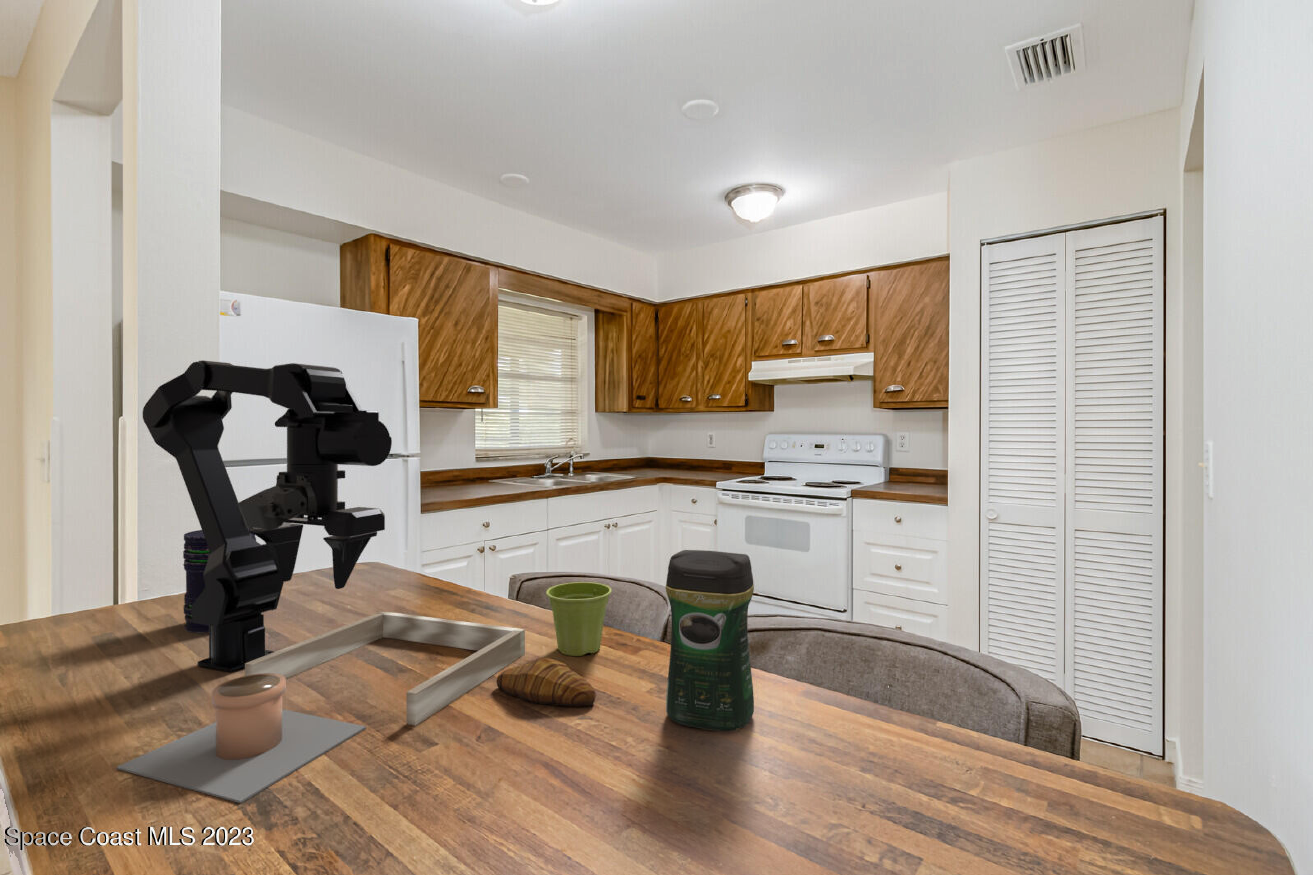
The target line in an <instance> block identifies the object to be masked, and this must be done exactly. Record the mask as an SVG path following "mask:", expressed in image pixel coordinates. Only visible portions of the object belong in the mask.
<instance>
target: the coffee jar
mask: <svg viewBox="0 0 1313 875" xmlns="http://www.w3.org/2000/svg"><path fill="white" fill-rule="evenodd" d="M668 562H669V563H668V567H667V568H668V569H667V575H666V581H665V592H666V596H667V599H668V602H669V606H670V616H671V618H670V619H671V635H670V637H671V638H670V651H669V664H668V673H667V674H668V675H667V683H666V698H665V700H666V701H665V711H666V714H667V717H668V718H669V719H671V721H673V722H674V723H677V724H680V725H684V726H687V727H692V728H698V729H703V730H711V731H717V732H727V733H729V732H734V731H737V730H739V729H742V728H744V727H745V726H747V725H748V724H749V723H750V721H751V720H752V717H753V714H754V711H755V698H754V685H753V684H754V683H753V676H752V675H753V674H752V665H751V658H750V647H749V645H750V644H749V635H748V634H749V632H748V631H749V630H748V616H749V615H748V614H749V611H748V610H749V606H750V603H751V600H752V598H753V596H754V591H755V584H754V577H753V572H752V568H753V567H752V564H751V563H752V562H751V559H750V557H749V555H748V554H745V553H737V552H726V551H725V552H724V551H715V550H702V549H700V550H699V549H683V550H680V551H678V552H676V553H674V554H673V555H671V557H670V558H669V561H668Z"/></svg>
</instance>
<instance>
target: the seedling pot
mask: <svg viewBox="0 0 1313 875" xmlns="http://www.w3.org/2000/svg"><path fill="white" fill-rule="evenodd" d="M286 681H287V679H286V678H285V677H284V676H282V675H279V674H273V673H263V674H254V675H248V676H245V675H244V676H240V677H236V678H233V679H230V680H227V681H224V682H222V683H220V684H218V685H217V686H215V687H214V688H213V689H212V692H211V705H212V706H213V707H214V708H215V722H216V756H217V757H219V758H222V759H227V760H236V759H244V758H249V757H253V756H256V755H259V754H262V753H265V752H267V751H269V750H271V749H273V748H274V747H276V746H277V745H278V744H279V743H280V742H281V741H282V709H283V694H284V693H285V692H286V690H287V686H286V685H287V682H286Z"/></svg>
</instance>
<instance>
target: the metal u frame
mask: <svg viewBox="0 0 1313 875" xmlns="http://www.w3.org/2000/svg"><path fill="white" fill-rule="evenodd" d="M382 638H387V639H392V640H393V639H394V640H402V641H408V642H415V643H423V644H429V645H436V646H443V647H444V646H445V647H450V648H456V649H457V648H458V649H463V650H464V649H465V650H472V651H476V652H474V653H472V654H470V655H469V656H467V657H466V658H464V659H461V660H460V661H458V662H457V663H455V664H453V665H452V666H449V667H448V668H446V669H444V670H443V671H441V672H438V673H437V674H436V675H434V676H432V677H430V678H429V679H427V680H425V681H424V682H422V683H420V684H418V685H416V686H415V687H413V688H411V689H409V690H408V691H406V725H409V726H414V727H415V726H418V725H419V724H420V723H422V722H424V721H425V720H427V719H428V718H430V717H431V716H433V715H434V714H436V713H438V712H439V711H441V709H443V708H445V707H447V706H449V705H450V704H451V703H453V702H454V701H455V700H457V699H458V698H460V697H462V696H463V695H465V694H466V693H468V692H469V691H471V690H472V689H474V688H475V687H477V686H478V685H480V684H482V683H483V682H484V681H486V680H488V679H489V678H491V677H492V676H493V675H495V674H497V673H498V672H499V671H501V670H502V669H504V668H506V667H507V666H509V665H510V664H512V663H514V662H515V661H516V660H517V659H519V658H521V657H522V656H525V654H526V629H524V628H519V627H518V628H516V627H508V626H502V625H494V624H485V623H478V622H468V621H463V620H462V621H461V620H454V619H453V620H452V619H446V618H445V619H444V618H440V617H432V616H431V617H429V616H425V615H424V616H423V615H414V614H406V613H400V612H391V611H379V612H377V613H374V614H372V615H369V616H367V617H363V618H361V619H358V620H356V621H353V622H351V623H348V624H345V625H343V626H341V627H337V628H335V629H332V630H330V631H327V632H324V633H322V634H319V635H317V636H313V637H311V638H309V639H305V640H304V641H303V640H302V641H301V642H298V643H295V644H293V645H290V646H287V647H285V648H281V649H279V650H277V651H274V653H271V654H269V655H266V656H263V657H261V658H258V659H255V660H253V661H250V662H248V663H245V667H244V676H248V675H254V674H263V673H273V674H279V675H282V676H284V677H285V678H286V680H287V679H289V678H292V677H294V676H296V675H298V674H301V673H303V672H306V671H308V670H311V669H312V668H315V667H318V666H320V665H322V664H324V663H327V662H329V661H331V660H334V659H335V658H338V657H342V656H343V655H345V654H347V653H350V652H352V651H354V650H356V649H357V650H358V649H359V648H361V647H364V646H366V645H369V644H370V643H373V642H376V641H378V640H379V639H382Z"/></svg>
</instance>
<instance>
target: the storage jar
mask: <svg viewBox="0 0 1313 875" xmlns="http://www.w3.org/2000/svg"><path fill="white" fill-rule="evenodd" d="M248 529H249V528H248ZM252 529H254V528H252ZM250 534H251V533H250ZM251 536H252V538H253V539H254V540H255V541H257V536H256V535H254V534H251ZM183 541H184V543H183V551H182V552H183V555H182V558H183V559H184V560H183V565H182V566H183V569H184V571H185V591H186V592H185V593H184V599H183V601H184V604H183V614H184V620H185V624H184V631H186V632H188V633H195V634H207V633H208V632H209V626H208V625H203V624H197V623H194V622H193V618H192V614H191V610H190V607H191V606H192V604H193V603H194V602H195V601H196V599H197V598H198V597H199V595H200V594H201V593H202V591H203V590H204V589H205V587H206V586H205V582H204V578H203V574H204V571H205V568H206V565H207V562H208V559H209V556H210V551H209V548H208V545H207V542H206V539H205V537H204V534H203V531H202V529H199V530H193V531H189V532H185V533H184V535H183ZM208 634H209V633H208Z"/></svg>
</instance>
